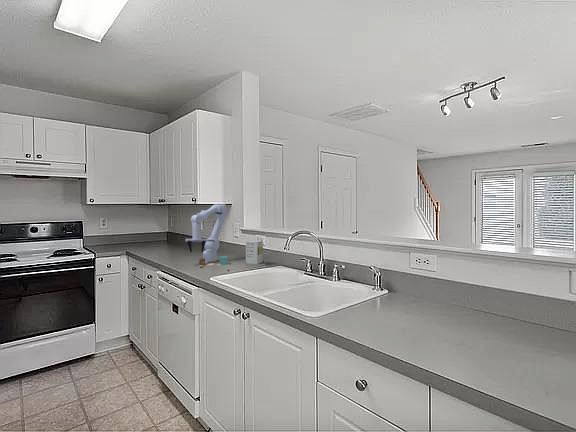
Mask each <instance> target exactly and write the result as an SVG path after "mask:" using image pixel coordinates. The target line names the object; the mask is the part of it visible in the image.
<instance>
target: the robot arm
mask: <svg viewBox="0 0 576 432" xmlns="http://www.w3.org/2000/svg"><path fill="white" fill-rule="evenodd" d="M228 210H229V209H228V206H227V205H226V204H224V203H223V204H215V203H214V204H213V205H211V207H209V208H208V209H206V210H204V209H202V210H201V211H200V212H197V213H196V214H193V215H192V216H191V218H190V219H189V220H190V222H191V226H192V227H191V228H192V230H191V232H192V238H185V242H186V244H187V245H188V249H189V252H190V253H192V252H193V248H192V245H193V244H192V243H193V242H195V243H197V242H201V253H202V256H203V257H202V258H205V263H208V262H211V263H213V262H217V258H218V257H217V253H218V252H217V251H218V250H219V248H220V240H219V236H220V234H221V230H222V228H223V225H224V223H225V220H226V215H227V213H228ZM212 214H214V215H215V217H217V218H216V221H215V224H214V226H213V229H212V232H211V234H210V236H209V237H207V238H202V223H203V221H204V220H206V219H207V218H209V215H212Z"/></svg>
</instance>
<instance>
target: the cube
mask: <svg viewBox="0 0 576 432" xmlns="http://www.w3.org/2000/svg"><path fill="white" fill-rule="evenodd" d="M228 257H229V256H227V255H226V256H225V255H224V256H221V255H220V256H219V263H220V265H219V266H228V265H227V264H228V263H229V262H228V261H229V260H228Z"/></svg>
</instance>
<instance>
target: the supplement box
mask: <svg viewBox="0 0 576 432" xmlns="http://www.w3.org/2000/svg"><path fill="white" fill-rule="evenodd" d="M263 249H264V240H246V241H245V264H250V265H259V264H262V263H263V261H264V258H263V257H264V256H263V255H264V253H263V252H264V251H263Z"/></svg>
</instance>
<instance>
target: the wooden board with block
mask: <svg viewBox="0 0 576 432" xmlns="http://www.w3.org/2000/svg"><path fill="white" fill-rule="evenodd" d="M198 264H199V265H198V267H199V268H204V267H206V266H221V265H220V262H219V263H218V262H217V263H216V262H214V263H213V262H211V263H208V262H207V263H205V258H203V257H200V258H199V259H198ZM230 264H231V263H230V262H228V264H227V265H226V266H230Z"/></svg>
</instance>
